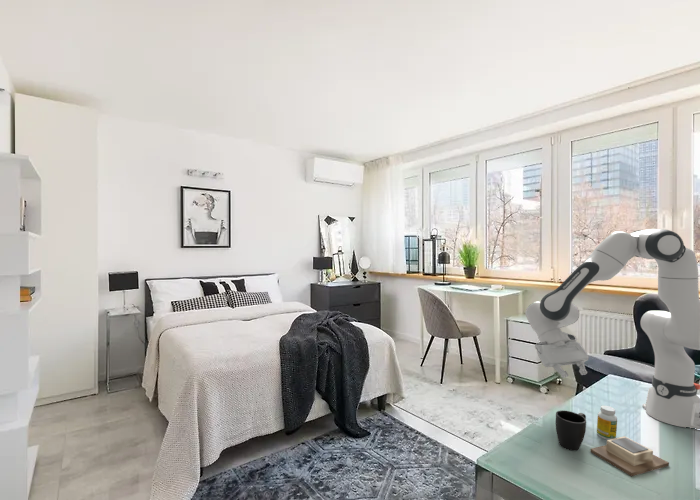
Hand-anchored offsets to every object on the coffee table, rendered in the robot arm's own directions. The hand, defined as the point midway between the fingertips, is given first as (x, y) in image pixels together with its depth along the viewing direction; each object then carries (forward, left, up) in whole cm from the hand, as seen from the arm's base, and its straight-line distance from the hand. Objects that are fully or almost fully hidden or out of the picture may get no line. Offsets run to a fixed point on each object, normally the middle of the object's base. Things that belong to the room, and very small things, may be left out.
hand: (575, 375), depth 134 cm
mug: (+16, +13, -16) cm, 26 cm away
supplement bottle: (0, +12, -16) cm, 20 cm away
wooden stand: (+6, +23, -16) cm, 29 cm away
